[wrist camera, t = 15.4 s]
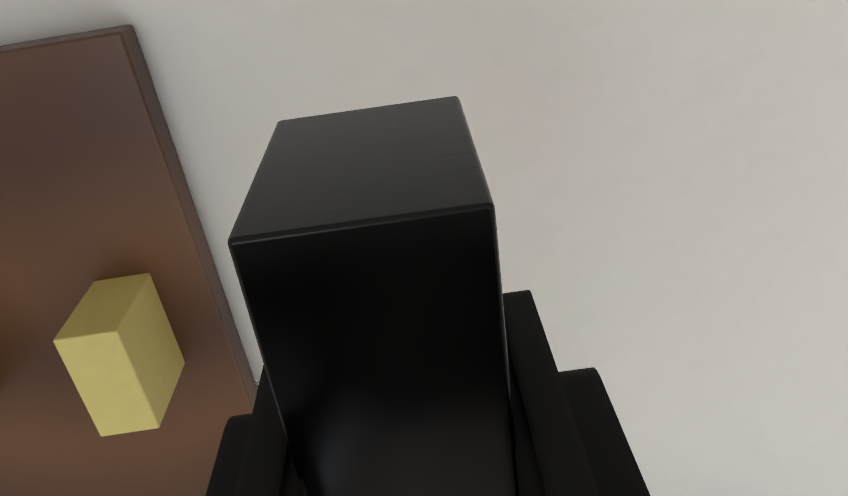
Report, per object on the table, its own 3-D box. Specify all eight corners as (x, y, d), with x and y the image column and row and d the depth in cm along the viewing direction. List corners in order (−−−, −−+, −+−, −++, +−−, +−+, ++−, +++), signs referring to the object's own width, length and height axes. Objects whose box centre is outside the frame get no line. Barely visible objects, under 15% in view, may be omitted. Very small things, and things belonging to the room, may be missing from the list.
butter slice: (93, 280, 24) (51, 340, 21) (150, 271, 24) (116, 330, 21) (133, 370, 26) (100, 437, 23) (185, 362, 26) (159, 428, 23)
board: (-369, 106, 22) (-407, 118, 21) (133, 23, 21) (120, 31, 20) (-61, 534, 31) (-76, 557, 30) (289, 482, 31) (286, 504, 30)
